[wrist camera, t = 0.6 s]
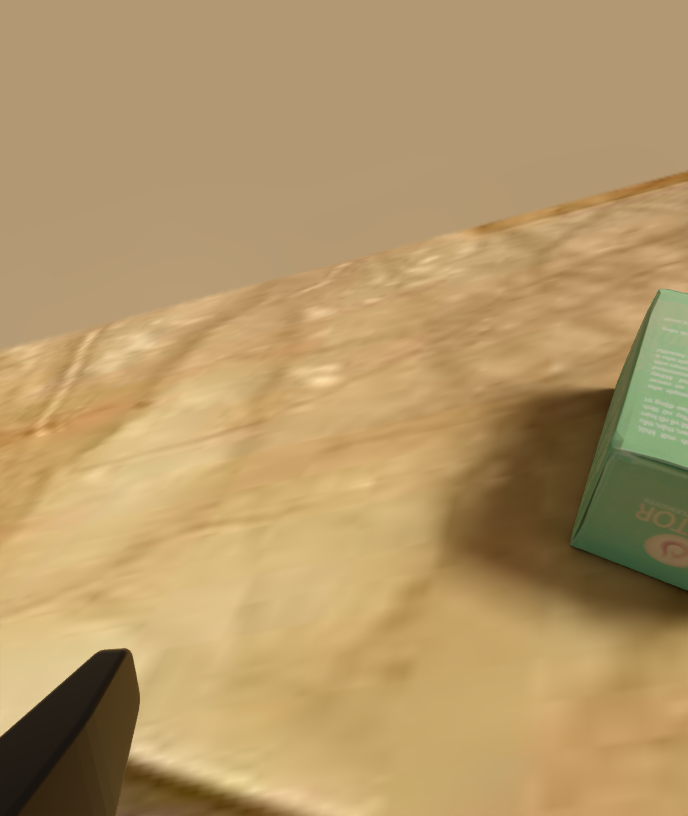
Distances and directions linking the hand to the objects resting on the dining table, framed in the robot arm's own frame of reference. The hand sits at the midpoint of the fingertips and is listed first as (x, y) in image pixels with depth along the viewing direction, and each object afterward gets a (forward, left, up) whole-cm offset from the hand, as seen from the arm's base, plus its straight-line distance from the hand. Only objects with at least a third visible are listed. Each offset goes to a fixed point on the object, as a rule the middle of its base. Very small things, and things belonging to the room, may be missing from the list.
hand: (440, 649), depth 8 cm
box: (+14, -15, -15) cm, 25 cm away
